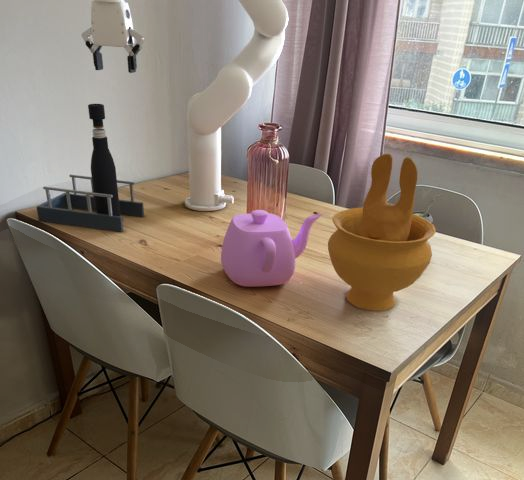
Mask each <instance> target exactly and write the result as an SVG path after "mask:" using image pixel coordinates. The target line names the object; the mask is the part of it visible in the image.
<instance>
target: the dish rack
mask: <svg viewBox="0 0 524 480" xmlns="http://www.w3.org/2000/svg"><path fill="white" fill-rule="evenodd" d="M69 178H71V183H72V189H67V188H61V187H52V186H42V189H43V190H45V195H46V201H45V202H43V203H41V204H39V205H37V206H36V212H37V218H38V221H39V222H44V223H45V222H46V223H51V224H52V223H53V224H60V225H67V226H75V227H80V228H81V227H82V228H89V229H96V230H102V231H110V232H119V233H123V232H124V224H123V222H124V221H123V216H124V215H126V216H131V217H139V218H144V217H145V211H144V209H145V208H144V202H141V201H135V194H134V193H135V192H134V186H135V184H136V183H135V181H128V180H120V179H117V184H126V185H129V195H130V200H126V199H119V207H120V216H114V215H112V206H111V198H112V197H113V195H109V194H101V193H94V191H93V183H92V176H87V175H77V174H69ZM76 179H83V180H90V187H91V191H83V190H78V189H77V181H76ZM50 191H55V192H63V193H61V194H59V195H57V196H55V197H53V198H51V193H50ZM94 196H102V197H107V202H108V211H109V215H106V214H98V213H96V207H95V199H94ZM75 209H79V210H75ZM83 210H86V211H83ZM121 215H123V216H121Z"/></svg>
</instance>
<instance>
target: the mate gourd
mask: <svg viewBox="0 0 524 480" xmlns="http://www.w3.org/2000/svg"><path fill="white" fill-rule="evenodd" d="M443 195H444V194H443V193H439V194H438V195H436V196H434V197H433V198H432V199H430V201H429V203H428V205H427V207H426V208H425V209H426V210H425V211H420V210H419V211H417V210H416V211H413V212H412V214H414V215H417V216H419V217H422V218H424V219H426V220H427V221H429V222H430V223H431V224H433V225H434V222H433V221H434V219H433V217H432V215H431V214H430V213H429V210H430V208H431V206H432V205H433V204H434V202H435V200H437V199H438V198H440V197H441V196H443ZM428 240H429V239H428ZM428 240H427V241H428ZM428 242H429V241H428Z"/></svg>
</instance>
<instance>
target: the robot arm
mask: <svg viewBox="0 0 524 480" xmlns="http://www.w3.org/2000/svg"><path fill="white" fill-rule="evenodd" d="M238 2H239V3H240V4H241V6H242V7H243V9H244V11H245V12H246V14H247V15H248V16H249V18H250V19H251V21H252V23H253V27H254V30H253V34H252V37H251V39H250V41H249V42H248V43H247V44H246V45H245V46H244V47H243V48H242V49H241V50H240V52H239V53H238V54H237V55H236V56H234V58H233V59H231V60H230V62H228V63H227V64H226V65H225V66H224V67H222V68H221V69H220V70H219V71H218V73H217V75H216V77H215V79H214V80H213V81H212V82H211V83H210V84H209V85H208V86H207V87H206V88H205V89H204V90H203V91H200V92H197V93H195V94H194V95H192V96H191V97H190V99H189V100H188V103H187V106H186V122H187V142H188V143H187V148H188V150H187V151H188V153H187V154H188V155H187V156H188V181H189V182H188V185H189V186H188V187H189V197H187V198H186V199H185V200H184V206H185V207H186V208H187V209H190V210H192V211H193V210H194V211H198V212H215V211H219V210H222V209H224V208H225V207H226V206H227V204H231V205H233V204H234V203H235V197H233V195H232V194H231V195H230V194H226V193H225V191H224V189H222V127H223V126H224V125H225V124H226V123H227V122H228V121H230V119H232V117H233V116H234V115H236V114H237V113H238V112H239V111H240V110H241V109H242V108H243V107H244V106H245V105H246V103H247V102H248V100H249V99H250V97H251V95H252V90H253V87H255V85H256V84H257V83H258V82H259V81H260V80H261V79H262V78H263V77H264V76H265V75H266V74H267V73H268V72H269V71H270V69H272V67H273V66H274V65H275V63H276V62H277V61H278V59H279V58H280V55H281V53H282V51H283V46H284V44H285V43H284V42H285V32H286V31H285V30H286V29H287V26H288V24H289V12H288V9H287V6H286V5H285V3H284V1H283V0H238ZM90 6H91V7H90V25H91V27H89V28H88V29H86V30H85V31H83V32H82V33H81V37H82V40H83V41H84V42H85V46H86V47H87V48H88V50H89V51H90V52H91V54H92V61H93V66H94V70H95V71H101V70H104V62H103V54H102V52H101V50H102V48H103V47H111V48H113V47H114V48H124V50H125V51H126V52H127V53H128V55H127V58H126V60H127V69H128V73H129V74H133V73H136V72H137V68H138V63H137V62H138V61H137V56H138V54H139V52H140V51H141V50H142V48H143V44H144V41H145V37H144V36H143V35H142V34H140V33H138V31H136V30H134V24H133V18H132V13H131V10H130V6H129V2H126V1H125V0H92V1H91V5H90ZM91 37H92V40H91ZM135 40H136V42H135Z"/></svg>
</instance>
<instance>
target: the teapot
mask: <svg viewBox="0 0 524 480" xmlns="http://www.w3.org/2000/svg"><path fill="white" fill-rule="evenodd" d="M322 216H323V213H316V214H311V215H309V216H307V217H306V218H305V219H304V220H303V222H302V224H301V227H300V229H299V232H298V233H297V235H296V237H294V238H293V239H292V236H291V233H290V229H289V228H288V225H287V223H286V221H284V219H283V218H281V216H279V215H277V214H275V213H271V212H270V213H269V212H268V211H266V210H265V209H264V210H263V209H255V210H252V211H251V212H250V213H239V214H235V215H234V216H232V219H231V220H230V222H229V224H228V227H227V230H226V231H225V235H224V237H223V241H222V245H221V252H220V263H221V266H222V268H223V270H224V272H225V274H226V275H227V277H228V278H229V279H230V280H231V281H232V282H233V283H234V284H236V285H238V286H241V287H251V288H253V287H270V286H279V285H285V284H286V283H289V281H290V279H291V278H292V277H293V276H294V273H295V270H296V259H298V258H299V257H300V256H301V255H302V254H303V253H304V252H305V250H306V248H307V245H308V242H309V238H310V237H309V236H310V233H311V229H312V227H313V224H314V223H315V222H316V221H317V220H318V219H320V218H321V217H322Z"/></svg>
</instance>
